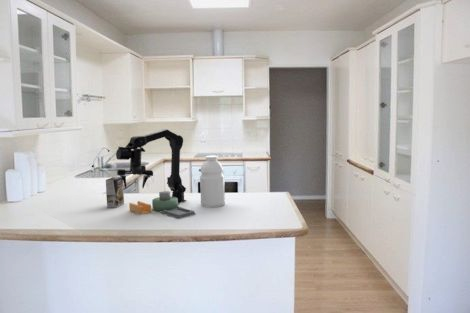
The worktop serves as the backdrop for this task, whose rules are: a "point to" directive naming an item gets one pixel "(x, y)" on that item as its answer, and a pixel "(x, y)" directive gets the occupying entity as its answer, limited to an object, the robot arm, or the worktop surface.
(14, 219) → the worktop surface
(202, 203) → the bottle
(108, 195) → the coffee box
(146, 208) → the chute
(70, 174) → the worktop surface
